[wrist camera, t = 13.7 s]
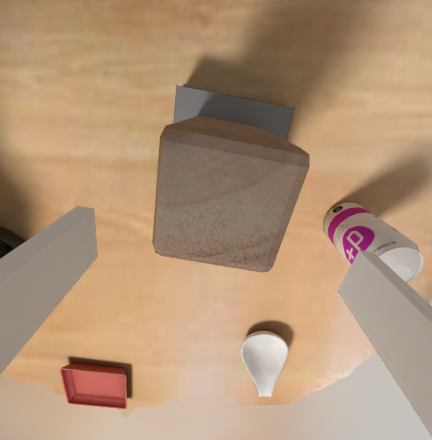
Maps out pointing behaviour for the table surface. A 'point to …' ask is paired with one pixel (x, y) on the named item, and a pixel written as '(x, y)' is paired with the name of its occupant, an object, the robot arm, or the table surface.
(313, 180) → the table surface
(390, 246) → the supplement can
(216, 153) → the wooden block
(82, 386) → the plant saucer
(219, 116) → the charcoal base block
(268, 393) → the spoon rest
